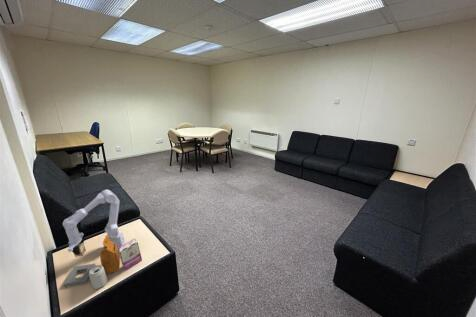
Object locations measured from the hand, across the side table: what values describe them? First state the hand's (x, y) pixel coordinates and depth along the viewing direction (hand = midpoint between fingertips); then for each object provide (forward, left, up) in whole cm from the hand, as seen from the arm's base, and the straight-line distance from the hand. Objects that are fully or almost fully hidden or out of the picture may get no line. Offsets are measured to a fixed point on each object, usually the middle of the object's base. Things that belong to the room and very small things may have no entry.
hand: (79, 251), depth 133 cm
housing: (-4, +12, -9) cm, 15 cm away
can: (-18, +20, -9) cm, 28 cm away
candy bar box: (-33, +8, -9) cm, 35 cm away
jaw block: (0, 0, -2) cm, 2 cm away
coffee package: (-21, +8, -9) cm, 24 cm away
